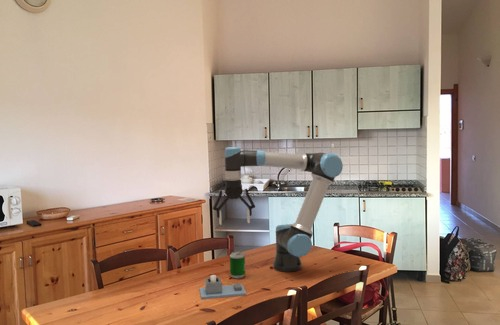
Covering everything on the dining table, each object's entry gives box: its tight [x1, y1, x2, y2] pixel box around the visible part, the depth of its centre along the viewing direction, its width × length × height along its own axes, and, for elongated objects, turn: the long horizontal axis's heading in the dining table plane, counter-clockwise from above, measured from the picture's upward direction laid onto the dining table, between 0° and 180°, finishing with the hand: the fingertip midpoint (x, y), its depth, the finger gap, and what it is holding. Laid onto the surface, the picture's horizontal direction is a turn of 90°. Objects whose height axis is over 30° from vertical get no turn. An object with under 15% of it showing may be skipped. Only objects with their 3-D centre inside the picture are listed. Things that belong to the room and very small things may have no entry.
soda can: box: [229, 251, 246, 280], centre depth 213 cm, size 8×8×12 cm
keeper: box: [199, 274, 247, 300], centre depth 192 cm, size 20×12×8 cm, turn 100°
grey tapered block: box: [204, 276, 223, 295], centre depth 191 cm, size 7×7×5 cm
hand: (234, 223), depth 204 cm, fingers open, 13 cm apart
